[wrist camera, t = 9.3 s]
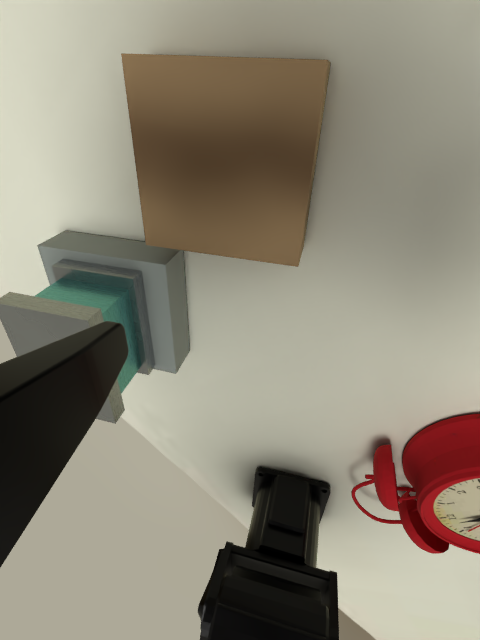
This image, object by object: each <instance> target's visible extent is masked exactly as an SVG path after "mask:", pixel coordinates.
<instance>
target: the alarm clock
mask: <svg viewBox="0 0 480 640" xmlns="http://www.w3.org/2000/svg"><path fill="white" fill-rule="evenodd" d="M402 464H403V470H404V474H405V476H406V478H407V480H408V481H409V483H410V484H411V485H412V486H413V488H410V487H397V483H396V474H395V466H394V463H393V460H392V449H391V445H382V446H379V447H378V448H377V449H376V451H375V454H374V461H373V473H374V475H365V478H366V479H372V480H369V481H365V482H362V483H360V484H358V485H356V486H355V487H354V488H353V490H352V492H351V493H352V498H353V500H354V502H355V504H356V505H357V506H358V508H359V509H360V510H361V511H362V512H363V513H365V514H366V515H367V516H369V517H370V518H372V519H374V520H376V521H379V522H382V523H389V524H402V525H403V527H404V529H405V531H406V533H407V534H408V536H409V537H410V538H411V540H412V541H413V542H414V543H415V544H416V545H417V546H418V547H420V548H421V549H423V550H425V551H427V552H429V553H444V552H445V551H447V550H448V548H449V543H450V544H452V545H454V546H457V547H459V548H462V549H465V550H468V551H471V552H475V553H479V554H480V414H471V415H464V416H458V417H453V418H450V419H446V420H442V421H440V422H437V423H435V424H433V425H430V426H428V427H427V428H425V429H423V430H422V431H420V432H419V433H417V434H416V435H415V436H414V437H413V438H412V439H411V440H410V441H409V442H408V444H407V445H406V447H405V449H404V452H403V456H402ZM372 483H375V487H376V492H377V495H378V497H379V500H380V502H381V503H382V504H383V506H384V507H386V508H387V509H389V510H393V511H399V514H400V519H401V520H386V519H381V518H377V517H375V516H373V515H371V514H370V513H369V512H367V511H366V510H365V509H364V508H363V507H362V506H361V505H360V504H359V502H358V501H357V499H356V497H355V492H356V490H357V489H359V488H361V487H363V486H366V485H369V484H372ZM397 490H399V491H407V492H405V493H404V494H403V495H402V497H400V496H398V492H397ZM409 492H416V494H415V496H410V495H409ZM414 499H417V501H416V500H414ZM398 501H399V502H398Z"/></svg>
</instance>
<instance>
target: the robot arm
mask: <svg viewBox="0 0 480 640" xmlns="http://www.w3.org/2000/svg"><path fill="white" fill-rule="evenodd" d="M128 351H129V350H128V344H127V338H126V333H125V329H124V326H123V325H122V324H121V323H117V322H111V321H104V322H102V323H99V324H97V325H94V326H92V327H90V328H87V329H85V330H82V331H80V332H77V333H75V334H72V335H70V336H67V337H65V338H63V339H60V340H58V341H55V342H53V343H50V344H48V345H45V346H43V347H40V348H38V349H35V350H33V351H31V352H28V353H26V354H23V355H21V356H18V357H16V358H13V359H11V360H8V361H6V362H4V363H1V364H0V567H1V566H2V564H3V562H4V561H5V559H6V558H7V556H8V555H9V553H10V552H11V550H12V548H13V547H14V545H15V544H16V542H17V541H18V539H19V538H20V536H21V534H22V533H23V531H24V530H25V528H26V526H27V525H28V523H29V522H30V520H31V519H32V517H33V516H34V514H35V512H36V511H37V509H38V508H39V506H40V505H41V503H42V501H43V500H44V498H45V497H46V495H47V494H48V492H49V491H50V489H51V487H52V486H53V484H54V483H55V481H56V480H57V478H58V477H59V475H60V473H61V472H62V470H63V469H64V467H65V465H66V464H67V462H68V461H69V459H70V458H71V456H72V455H73V453H74V452H75V450H76V448H77V447H78V445H79V444H80V442H81V441H82V439H83V438H84V436H85V434H86V433H87V431H88V430H89V428H90V427H91V425H92V423H93V422H94V420H95V419H96V417H97V416H98V414H99V412H100V411H101V409H102V407H103V405H104V403H105V402H106V400H107V398H108V396H109V394H110V392H111V390H112V388H113V386H114V384H115V382H116V379H117V377H118V375H119V373H120V371H121V369H122V367H123V365H124V363H125V361H126V359H127V357H128ZM329 495H330V486H329V485H328V484H325V483H321V482H318V481H314V480H310V479H306V478H302V477H298V476H294V475H290V474H286V473H282V472H278V471H274V470H271V469H267V468H263V467H258V468H257V469H256V473H255V482H254V492H253V502H252V506H253V507H254V511H253V515H252V520H251V524H250V529H249V533H248V538H247V542H246V547H245V548H243V547H240V546H236V545H233V543H231V542H226V545H225V548H224V549H219V552H218V556H217V560H216V563H215V566H214V570H213V573H212V575H211V578H210V580H209V583H208V585H207V587H206V589H205V592H204V594H203V596H202V599H201V601H200V603H199V607H198V614H199V616H200V618H201V635H200V640H339V627H338V626H339V625H338V589H337V572H333V571H329V572H328V571H325V570H321V569H318V568H316V563H317V548H318V534H319V524H320V521H321V518H322V515H323V512H324V509H325V506H326V503H327V500H328V498H329Z"/></svg>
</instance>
